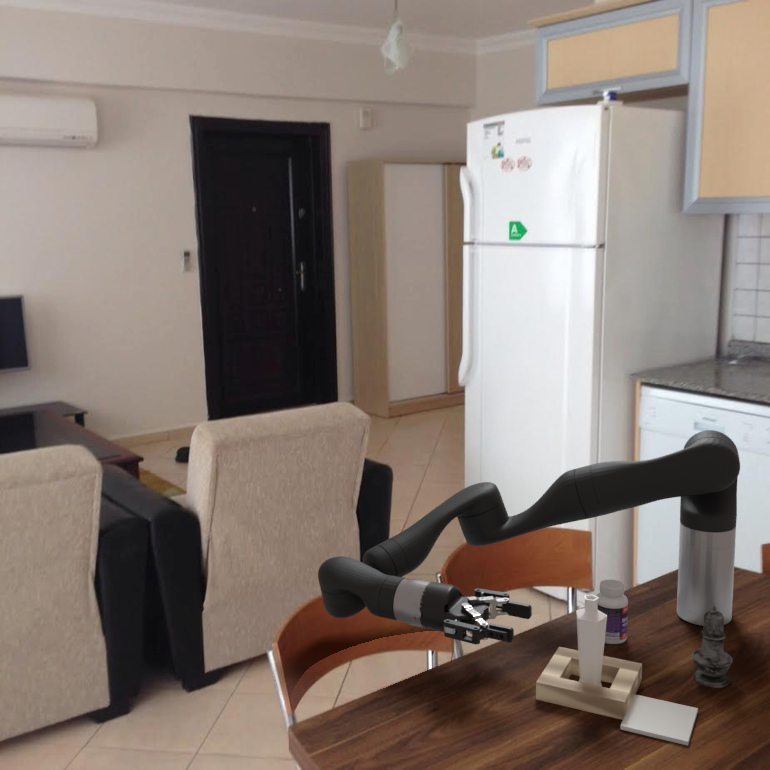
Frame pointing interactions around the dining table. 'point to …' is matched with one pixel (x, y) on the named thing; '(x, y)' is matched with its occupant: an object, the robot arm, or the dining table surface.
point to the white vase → (591, 640)
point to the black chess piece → (712, 653)
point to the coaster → (660, 719)
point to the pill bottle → (614, 610)
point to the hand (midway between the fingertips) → (522, 623)
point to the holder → (588, 696)
